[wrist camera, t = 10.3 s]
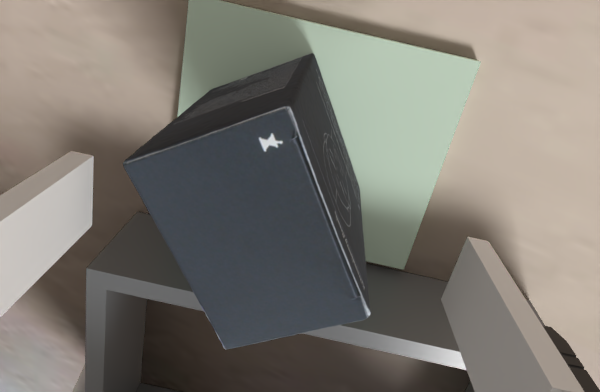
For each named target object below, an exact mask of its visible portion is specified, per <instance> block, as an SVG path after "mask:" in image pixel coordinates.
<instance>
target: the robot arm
mask: <svg viewBox="0 0 600 392" xmlns="http://www.w3.org/2000/svg"><path fill="white" fill-rule="evenodd" d="M93 163H94V156H93V155H88V154H83V153H79V152H74V151H70V152H69V153H67V154H65V155H64V156H62V157H61V158H59V159H57V160H56V161H54V162H53V163H51V164H49V165H48V166H46V167H45V168H43V169H41V170H40V171H38V172H37V173H35V174H33V175H32V176H30V177H29V178H27V179H25V180H24V181H22V182H21V183H19V184H17V185H16V186H14V187H13V188H11V189H9V190H8V191H6V192H5V193H3V194H1V195H0V317H1V316H2V315H3V314H4V313H5V312H6V311H7V310H8V309H9V308H10V307H11V306H12V305H13V304H14V303H15V302H16V301H17V300H18V299H19V298H20V297H21V296H22V295H23V294H24V293H25V292H26V291H27V290H28V289H29V288H30V287H31V286H32V285H33V284H34V283H35V282H36V281H37V280H38V279H39V278H40V277H41V276H42V275H43V274H44V273H45V272H46V271H47V270H48V269H49V268H50V267H51V266H52V265H53V264H54V263H55V262H56V261H57V260H58V259H59V258H60V257H61V256H62V255H63V254H64V253H65V252H66V251H67V250H68V249H69V248H70V247H71V246H72V245H73V244H74V243H75V242H76V241H77V240H78V239H79V238H80V237H81V236H82V235H83V234H84V233H85V232H86V231H87V230H88V229H89V228H90V227H91V226H92V210H93ZM441 301H442V304H443V306H444V309H445V312H446V315H447V317H448V320H449V323H450V326H451V328H452V331H453V334H454V337H455V339H456V342H457V345H458V348H459V350H460V353H461V356H462V359H463V361H464V364H465V367H466V370H467V372H468V375H469V378H470V381H471V383H472V386H473V389H474V392H600V390H599V389H598V387H597V386H596V384H595V383H594V381H593V380H592V378H591V377H590V375H589V374H588V372H587V371H586V370H584V366H583V365H582V363H581V362H580V361H579V359H578V358H576V355H575V353H574V352H573V350H572V349H571V347H570V346H569V344H568V343H567V341H566V340H565V339H563V338H562V337H561V336H560V335H559V334H558V333H557V332H556V331H555V330H554V329H552V328H551V327H547V326H542V324H541V323H540V321H539V320H538V318H537V316H536V315H535V313H534V312H533V310H532V309H531V307H530V305H529V304H528V302H527V301H526V299H525V298H524V296H523V294H522V293H521V291H520V290H519V288H518V287H517V285H516V283H515V282H514V280H513V279H512V277H511V276H510V274H509V272H508V271H507V269H506V268H505V266H504V265H503V263H502V261H501V260H500V258H499V257H498V255H497V254H496V252H495V250H494V249H493V247H492V246H491V244H490V243H489V241H486V240H481V239H476V238H472V237H467V239H466V241H465V243H464V246H463V248H462V251H461V253H460V255H459V258H458V260H457V262H456V265H455V267H454V270H453V272H452V274H451V277H450V279H449V281H448V284H447V286H446V288H445V291H444V293H443V296H442V298H441Z"/></svg>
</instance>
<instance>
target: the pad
mask: <svg viewBox="0 0 600 392" xmlns="http://www.w3.org/2000/svg"><path fill="white" fill-rule="evenodd" d="M310 53H313V54H314V55H315V58H316V60H317V63H318V66H319V69H320V72H321V75H322V78H323V81H324V84H325V86H326V90H327V93H328V95H329V98H330V101H331V104H332V107H333V110H334V113H335V116H336V119H337V122H338V125H339V128H340V131H341V134H342V137H343V139H344V143H345V145H346V148H347V151H348V155H349V157H350V160H351V163H352V166H353V170H354V172H355V175H356V178H357V181H358V184H359V188H360V198H361V212H362V224H363V235H364V247H365V259H366V261H367V262H371V263H376V264H380V265H385V266H389V267H393V268H398V269H402V270H404V268H405V265H406V262H407V260H408V257H409V254H410V251H411V249H412V246H413V243H414V241H415V238H416V235H417V233H418V230H419V227H420V225H421V222H422V219H423V216H424V214H425V211H426V208H427V206H428V203H429V200H430V198H431V195H432V192H433V190H434V187H435V184H436V181H437V179H438V176H439V173H440V171H441V168H442V165H443V163H444V160H445V157H446V155H447V152H448V149H449V146H450V144H451V141H452V138H453V136H454V133H455V130H456V128H457V125H458V122H459V120H460V117H461V114H462V111H463V109H464V106H465V103H466V101H467V98H468V95H469V93H470V90H471V87H472V85H473V82H474V79H475V76H476V74H477V71H478V68H479V66H480V63H481V62H480V61H478V60H475V59H471V58H467V57H462V56H458V55H454V54H449V53H445V52H441V51H437V50H432V49H428V48H424V47H419V46H415V45H411V44H406V43H402V42H398V41H394V40H389V39H385V38H381V37H376V36H372V35H368V34H363V33H359V32H355V31H351V30H346V29H342V28H338V27H333V26H329V25H325V24H320V23H316V22H312V21H307V20H303V19H299V18H295V17H290V16H286V15H282V14H277V13H273V12H269V11H264V10H260V9H256V8H252V7H247V6H243V5H239V4H234V3H230V2H226V1H221V0H189V2H188V12H187V23H186V33H185V44H184V54H183V64H182V75H181V85H180V95H179V106H178V116H177V117H179V116H180V115H181V114H182V113H183V112H184V111H185V110H187V109H188V108H189V107H190V106H191V105H192V104H194V103H195V102H196V101H197V100H199V99H200V98H201V97H203V96H204V95H205V94H206V93H207V92H209V91H210V90H211V89H213V88H216V87H219V86H222V85H225V84H228V83H230V82H233V81H236V80H239V79H242V78H244V77H247V76H250V75H252V74H255V73H258V72H261V71H264V70H267V69H269V68H271V67H274V66H277V65H280V64H282V63H285V62H288V61H291V60H294V59H296V58H299V57H302V56H304V55H307V54H310Z"/></svg>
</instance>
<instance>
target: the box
mask: <svg viewBox="0 0 600 392" xmlns="http://www.w3.org/2000/svg"><path fill="white" fill-rule="evenodd" d="M123 166H124V168H125V170H126V172H127V174H128V175H129V177H130V179H131V181H132V182H133V184H134V186H135V188H136V189H137V191H138V193H139V195H140V196H141V198H142V200H143V202H144V204H145V206H146V207H147V209H148V211H149V213H150V215H151V216H152V218H153V220H154V222H155V224H156V226H157V227H158V229H159V231H160V233H161V234H162V236H163V238H164V240H165V242H166V244H167V245H168V247H169V249H170V250H171V252H172V254H173V256H174V258H175V260H176V261H177V263H178V265H179V267H180V269H181V271H182V273H183V274H184V276H185V278H186V279H187V281H188V283H189V285H190V287H191V289H192V290H193V292H194V294H195V296H196V297H197V299H198V301H199V303H200V305H201V307H202V309H203V310H204V312H205V314H206V316H207V318H208V320H209V321H210V323H211V325H212V326H213V328H214V330H215V332H216V334H217V336H218V338H219V340H220V341H221V343H222V345H223V347H224V349H231V348H236V347H241V346H246V345H251V344H256V343H260V342H264V341H269V340H273V339H277V338H283V337H287V336H292V335H296V334H301V333H305V332H310V331H314V330H318V329H323V328H327V327H332V326H337V325H342V324H346V323H351V322H356V321H362V320H365V319H367V318H368V317H369V316H370V314H371V311H370V304H369V294H368V283H367V271H366V259H365V247H364V235H363V224H362V212H361V198H360V188H359V184H358V181H357V178H356V175H355V172H354V170H353V166H352V163H351V160H350V157H349V155H348V151H347V148H346V145H345V143H344V139H343V137H342V134H341V131H340V128H339V125H338V122H337V119H336V116H335V113H334V110H333V107H332V104H331V101H330V98H329V95H328V93H327V90H326V86H325V84H324V81H323V78H322V75H321V72H320V69H319V66H318V63H317V60H316V58H315V55H314V54H313V53H310V54H307V55H304V56H302V57H299V58H296V59H294V60H291V61H288V62H285V63H282V64H280V65H277V66H274V67H271V68H269V69H267V70H264V71H261V72H258V73H255V74H252V75H250V76H247V77H244V78H242V79H239V80H236V81H233V82H230V83H228V84H225V85H222V86H219V87H216V88H213V89H211V90H210V91H209V92H207V93H206V94H205V95H204V96H203V97H201V98H200V99H199V100H197V101H196V102H195V103H194V104H192V105H191V106H190V107H189V108H188V109H187V110H185V111H184V112H183V113H182V114H181V115H180V116H179V117H177V118H176V119H175V120H174V121H172V122H171V123H170V124H168V125H167V126H166V127H165V128H164V129H163V130H161V131H160V132H159V133H158V134H156V135H155V136H153V137H152V139H150V140H149V141H148V142H147V143H146V144H145V145H143V146H141V147H140V148H139V149H138V150H137V151H136V152H135V153H134V154H133V155H131V156H130V157H129V158H127V159H126V160H125V161H124V163H123Z"/></svg>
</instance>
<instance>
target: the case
mask: <svg viewBox="0 0 600 392" xmlns="http://www.w3.org/2000/svg"><path fill="white" fill-rule="evenodd" d="M366 271H367V283H368V294H369V304H370V311H371V314H370V316H369V317H368V318H367V319H365V320H362V321H356V322H351V323H346V324H342V325H337V326H332V327H327V328H323V329H318V330H314V331H310V332H305V333H302V334H307V335H311V336H316V337H320V338H325V339H329V340H334V341H338V342H343V343H347V344H352V345H356V346H361V347H365V348H370V349H374V350H378V351H383V352H387V353H392V354H396V355H401V356H405V357H410V358H414V359H419V360H423V361H428V362H432V363H437V364H441V365H446V366H450V367H455V368H459V369H463V370H466V367H465V364H464V361H463V359H462V356H461V353H460V350H459V348H458V345H457V342H456V339H455V337H454V334H453V331H452V328H451V326H450V323H449V320H448V317H447V315H446V312H445V309H444V306H443V304H442V301H441V298H442V296H443V293H444V291H445V288H446V286H447V284H448V282H446V281H442V280H438V279H433V278H429V277H424V276H420V275H415V274H411V273H407V272H402V271H398V270H393V269H389V268H384V267H380V266H376V265H371V264H367V263H366ZM147 299H150V300H155V301H159V302H164V303H168V304H173V305H177V306H182V307H186V308H191V309H195V310H200V311H204V310H203V309H202V307H201V305H200V303H199V301H198V299H197V297H196V296H195V294H194V292H193V290H192V289H191V287H190V285H189V283H188V281H187V279H186V278H185V276H184V274H183V273H182V271H181V269H180V267H179V265H178V263H177V261H176V260H175V258H174V256H173V254H172V252H171V250H170V249H169V247H168V245H167V244H166V242H165V240H164V238H163V236H162V234H161V233H160V231H159V229H158V227H157V226H156V224H155V222H154V220H153V218H152V216H151V215H150V214H145V213H141V212H137V213H136V214H135V215H134V216H133V217H132V218H131V220H130V221H129V222H128V223H127V224H126V225H125V226H124V227H123V228H122V229H121V231H120V232H119V233H118V234H117V235H116V236H115V237H114V238H113V239H112V240H111V242H110V243H109V244H108V245H107V246H106V247H105V248H104V249H103V250H102V251H101V253H100V254H99V255H98V256H97V257H96V258H95V259H94V260H93V261H92V263H91V264H90V265H89V266H88V267H87V268H86V349H85V365H84V368H83V370H82V372H81V374H80V376H79V379H78V381H77V383H76V385H75V387H74V389H73V392H180V391H175V390H171V389H166V388H162V387H157V386H153V385H148V384H144V383H140V381H141V369H142V357H143V345H144V333H145V320H146V308H147ZM526 301H527V302H528V304H529V305H530V307H531V309H532V310H533V312H534V313H535V315H536V316H537V318H538V320H539V321H540V323H541V324H542V326H545V325H544V323H543V322H542V320H541V318H540V317H539V315H538V313H537V312H536V310H535V308H534V307H533V305H532V303H531V302H530V300H526ZM465 392H474V389H473V386H472V383H471V381H470V383H469V384H468V386H467V388H466V390H465Z"/></svg>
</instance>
